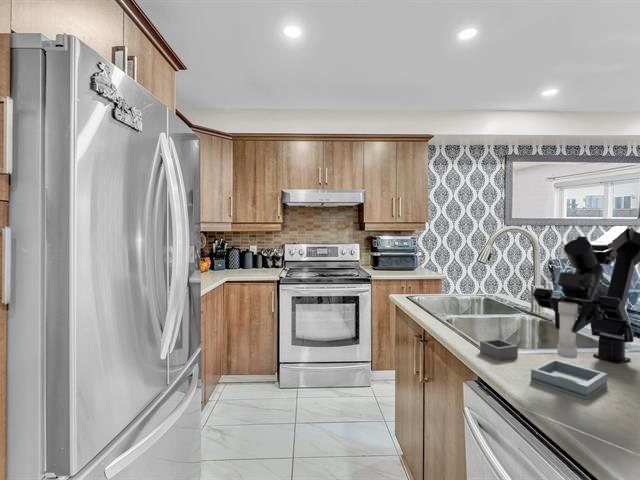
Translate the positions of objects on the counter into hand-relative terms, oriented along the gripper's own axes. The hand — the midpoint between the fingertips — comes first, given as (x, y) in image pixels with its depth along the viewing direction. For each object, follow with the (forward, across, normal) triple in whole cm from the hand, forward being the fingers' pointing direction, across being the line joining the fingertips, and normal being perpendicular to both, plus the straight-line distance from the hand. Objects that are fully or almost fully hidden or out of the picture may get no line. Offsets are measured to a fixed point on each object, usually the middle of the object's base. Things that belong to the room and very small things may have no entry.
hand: (565, 330), depth 88 cm
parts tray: (+9, 0, +10) cm, 14 cm away
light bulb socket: (+5, -20, +14) cm, 25 cm away
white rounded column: (+4, 0, +6) cm, 7 cm away
